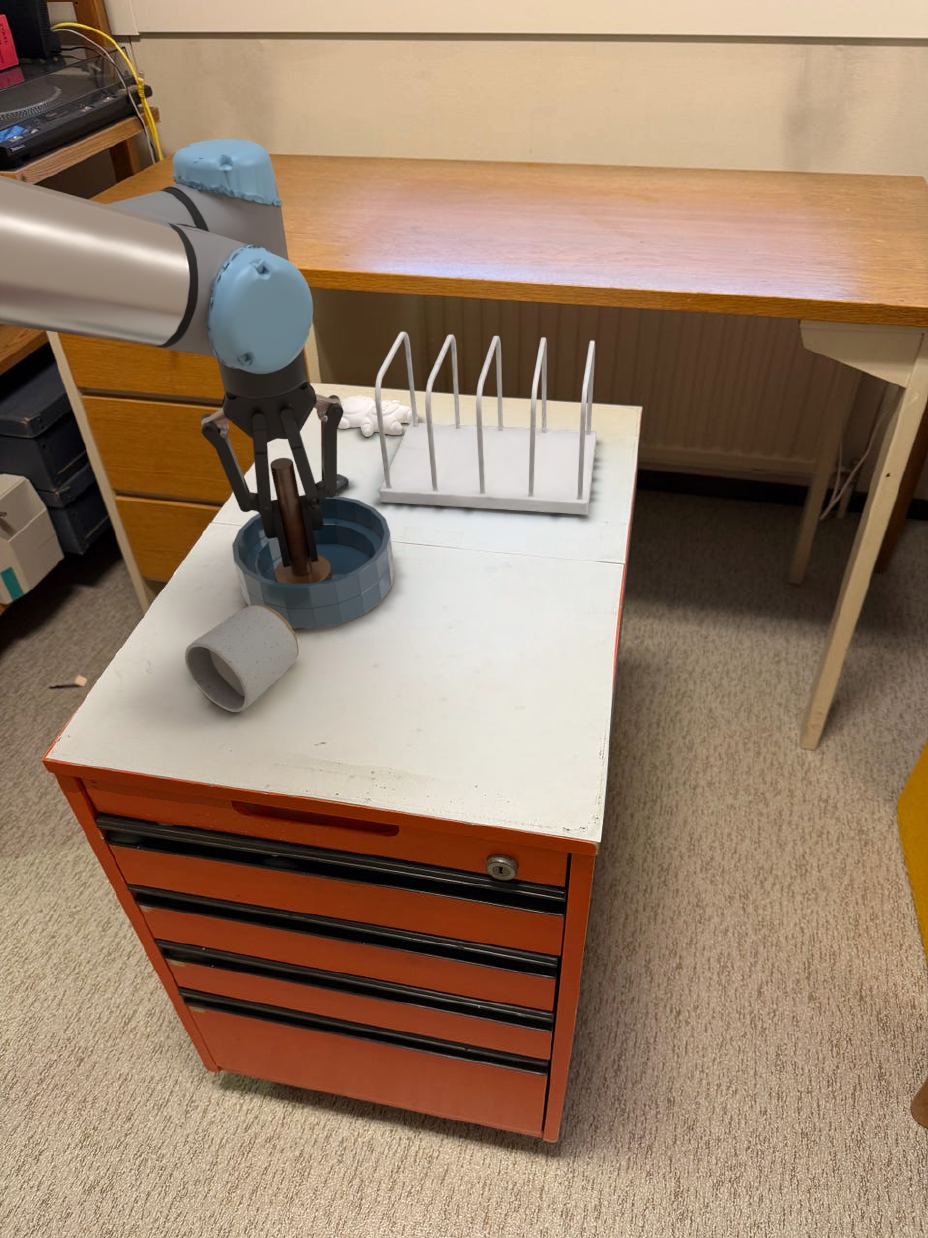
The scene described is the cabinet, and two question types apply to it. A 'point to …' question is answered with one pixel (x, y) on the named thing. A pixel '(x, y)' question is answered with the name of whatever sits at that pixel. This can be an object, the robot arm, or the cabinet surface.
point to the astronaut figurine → (374, 415)
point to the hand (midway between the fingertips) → (299, 556)
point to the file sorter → (490, 449)
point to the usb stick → (341, 482)
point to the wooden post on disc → (295, 530)
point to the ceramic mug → (242, 656)
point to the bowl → (355, 558)
